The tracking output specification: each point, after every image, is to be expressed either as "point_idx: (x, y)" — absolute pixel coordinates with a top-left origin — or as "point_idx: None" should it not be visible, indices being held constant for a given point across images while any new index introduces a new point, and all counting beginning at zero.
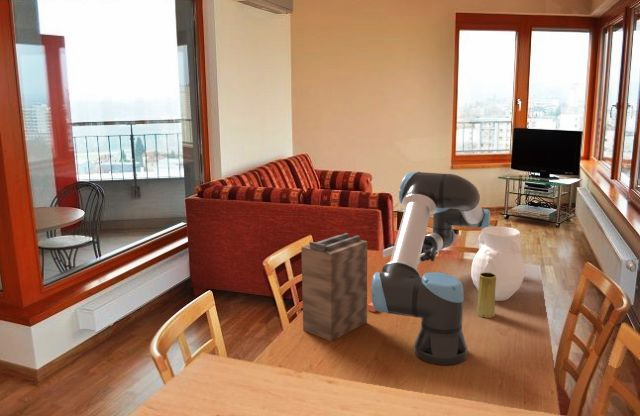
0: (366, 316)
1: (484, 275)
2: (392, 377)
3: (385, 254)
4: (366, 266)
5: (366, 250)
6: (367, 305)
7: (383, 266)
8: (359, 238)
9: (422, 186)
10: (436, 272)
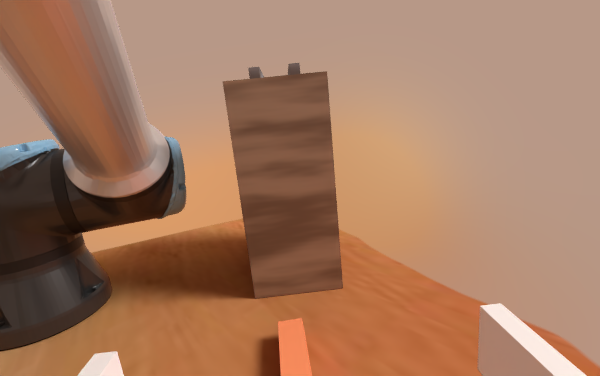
0: (253, 282)
1: None
2: (138, 248)
3: (489, 360)
4: (234, 153)
5: (227, 108)
6: (301, 320)
7: (160, 132)
8: (249, 75)
9: None
10: (8, 146)
